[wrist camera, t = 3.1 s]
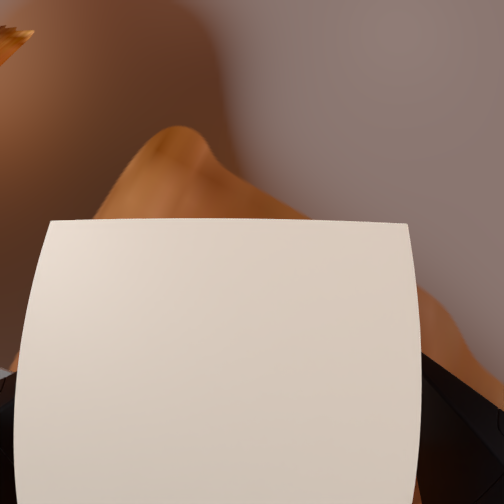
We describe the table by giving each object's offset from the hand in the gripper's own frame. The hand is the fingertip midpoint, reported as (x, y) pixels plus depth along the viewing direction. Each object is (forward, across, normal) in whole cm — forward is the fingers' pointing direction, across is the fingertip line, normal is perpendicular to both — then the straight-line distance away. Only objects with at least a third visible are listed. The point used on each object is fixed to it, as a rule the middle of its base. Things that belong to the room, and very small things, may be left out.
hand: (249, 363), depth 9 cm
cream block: (+4, 0, +6) cm, 7 cm away
